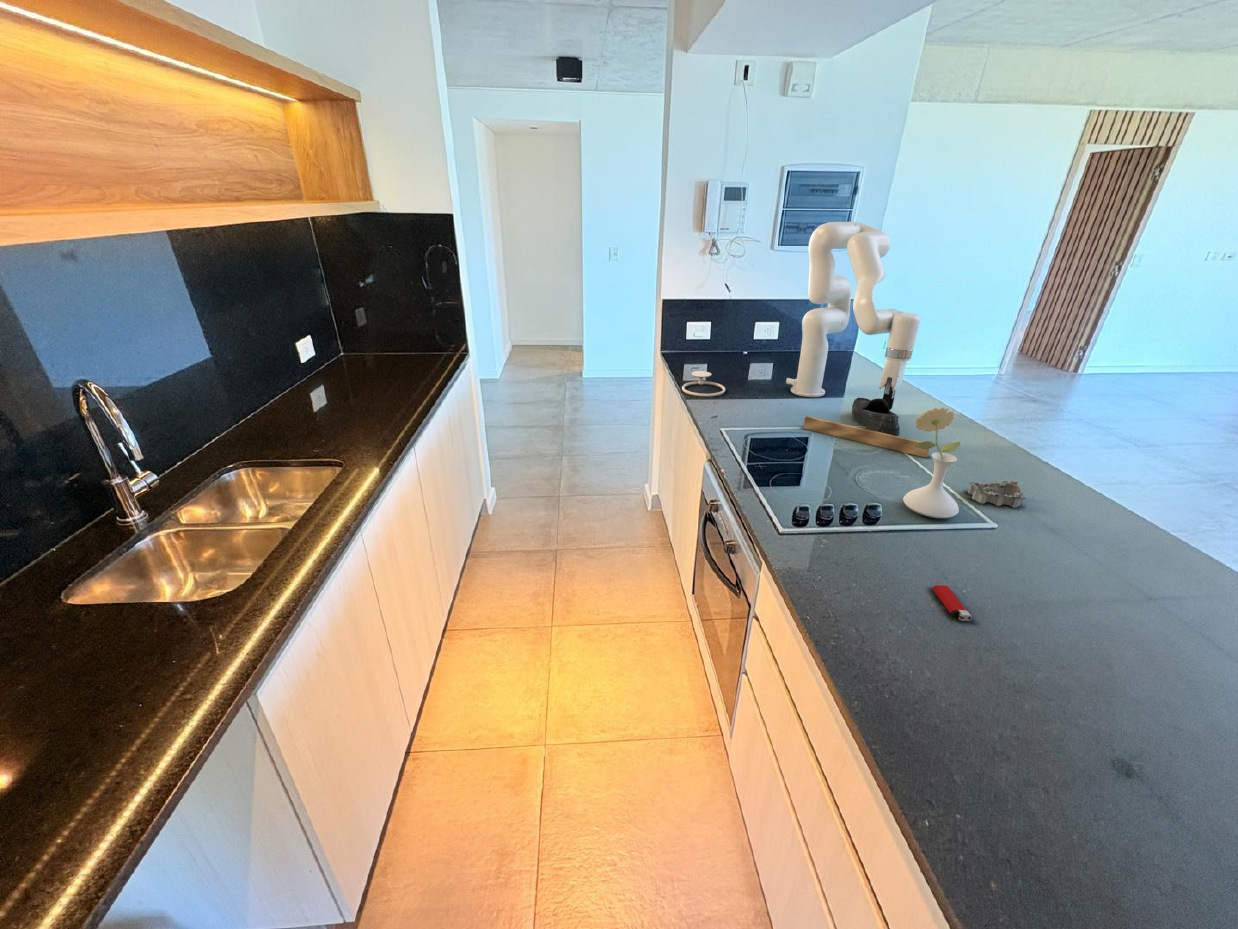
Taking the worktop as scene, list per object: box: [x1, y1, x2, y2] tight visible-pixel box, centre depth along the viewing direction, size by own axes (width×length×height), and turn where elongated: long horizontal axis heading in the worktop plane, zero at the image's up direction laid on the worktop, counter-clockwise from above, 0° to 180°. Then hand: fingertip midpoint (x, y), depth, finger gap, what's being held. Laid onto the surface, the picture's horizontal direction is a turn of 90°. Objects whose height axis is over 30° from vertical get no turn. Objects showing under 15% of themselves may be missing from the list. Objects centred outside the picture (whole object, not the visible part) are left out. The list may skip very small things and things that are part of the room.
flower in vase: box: [902, 407, 961, 519], centre depth 118 cm, size 13×11×25 cm
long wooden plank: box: [802, 415, 930, 458], centre depth 159 cm, size 36×1×4 cm, turn 51°
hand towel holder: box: [681, 370, 726, 398], centre depth 207 cm, size 17×4×20 cm
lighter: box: [932, 584, 973, 622], centre depth 93 cm, size 3×1×8 cm
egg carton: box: [967, 480, 1027, 508], centre depth 127 cm, size 11×8×4 cm
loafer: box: [851, 397, 900, 437], centre depth 169 cm, size 10×29×10 cm, turn 179°
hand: (886, 408), depth 175 cm, fingers closed
